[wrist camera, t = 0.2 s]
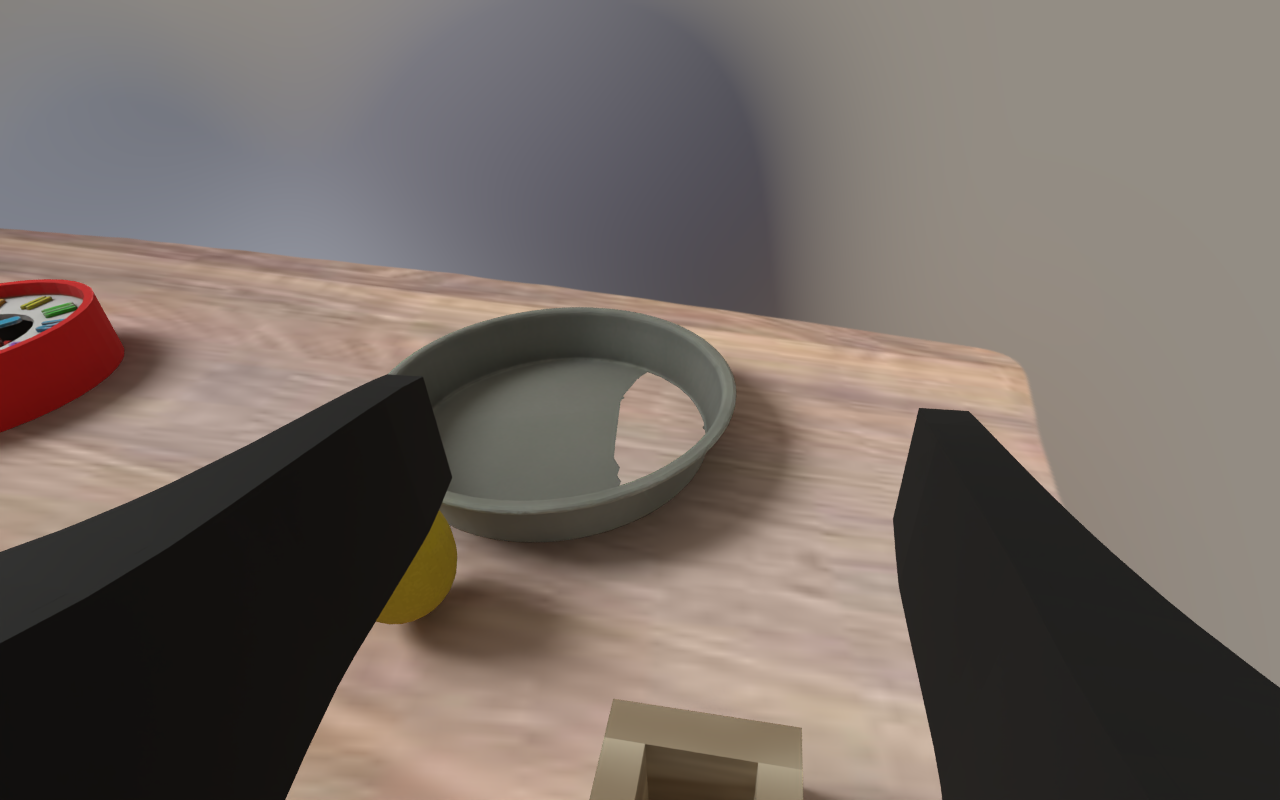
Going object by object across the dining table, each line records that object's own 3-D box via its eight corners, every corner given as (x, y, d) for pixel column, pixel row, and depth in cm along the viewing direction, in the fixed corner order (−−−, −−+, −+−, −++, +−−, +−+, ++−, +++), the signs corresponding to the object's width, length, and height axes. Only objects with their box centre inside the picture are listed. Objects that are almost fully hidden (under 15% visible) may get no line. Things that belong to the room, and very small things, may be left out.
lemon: (389, 566, 36) (347, 453, 32) (484, 573, 35) (455, 458, 31) (338, 653, 31) (281, 534, 27) (446, 662, 31) (406, 543, 26)
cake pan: (466, 645, 32) (447, 583, 29) (338, 421, 49) (320, 369, 46) (810, 454, 43) (817, 397, 41) (609, 326, 60) (606, 281, 58)
